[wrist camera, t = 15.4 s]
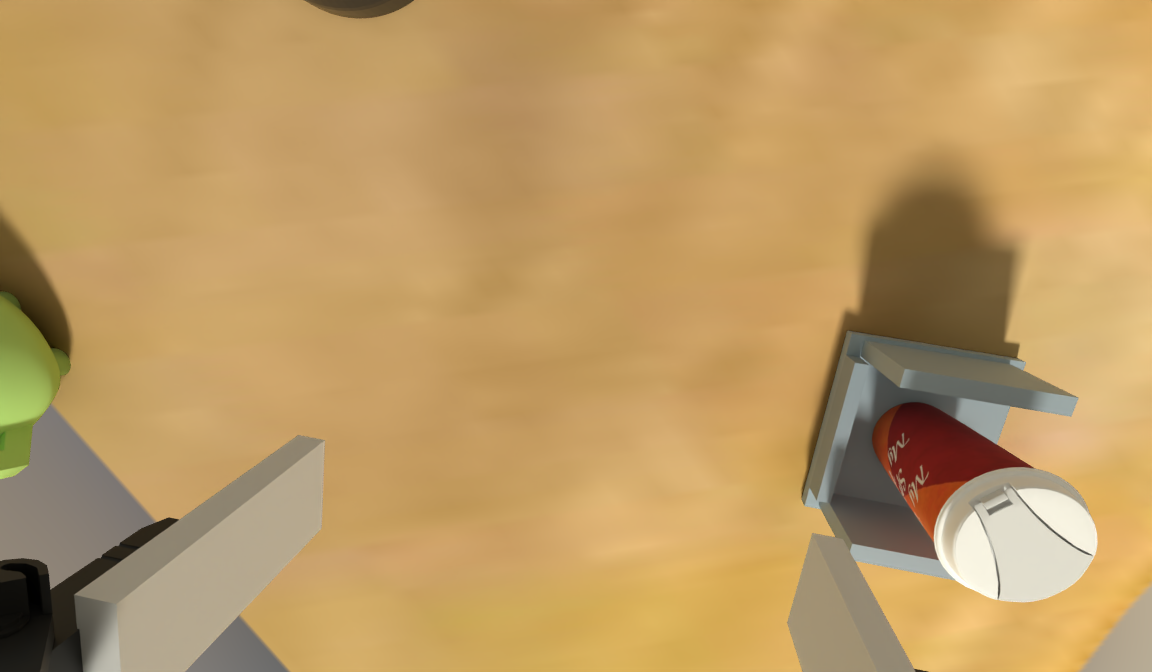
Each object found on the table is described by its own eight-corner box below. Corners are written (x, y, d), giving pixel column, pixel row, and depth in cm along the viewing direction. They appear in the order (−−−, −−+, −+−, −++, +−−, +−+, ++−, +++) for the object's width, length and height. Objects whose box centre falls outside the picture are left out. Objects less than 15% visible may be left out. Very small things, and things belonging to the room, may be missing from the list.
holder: (847, 330, 44) (889, 361, 36) (1017, 358, 43) (1098, 396, 35) (801, 499, 47) (831, 560, 40) (957, 528, 47) (1018, 596, 39)
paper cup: (836, 422, 45) (917, 525, 31) (934, 367, 43) (1064, 452, 29) (890, 503, 46) (991, 636, 32) (988, 452, 44) (1138, 572, 30)
